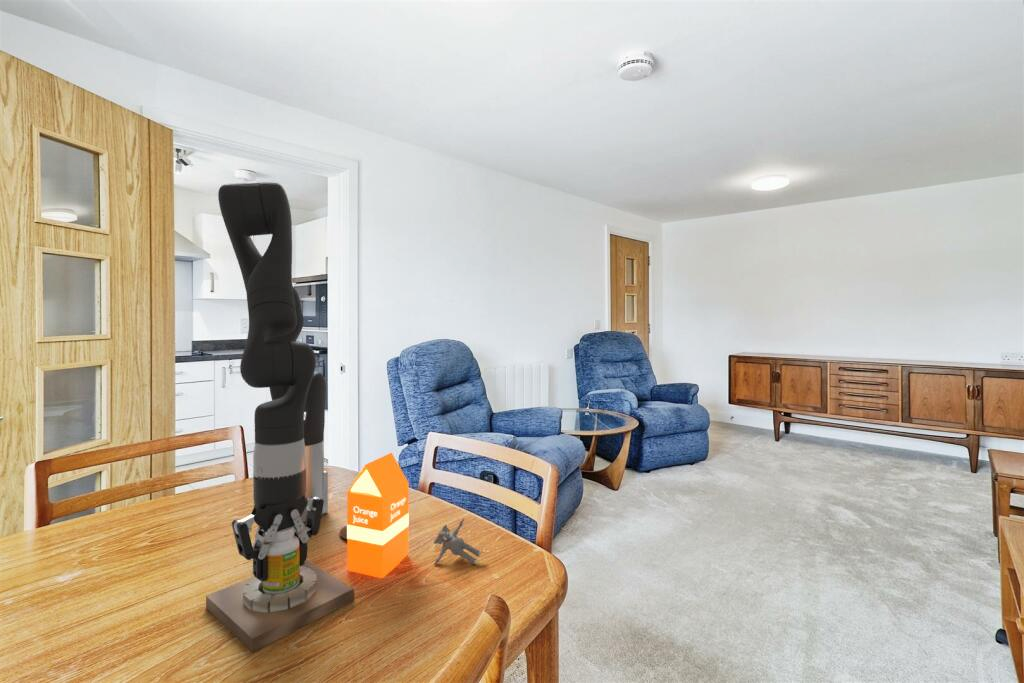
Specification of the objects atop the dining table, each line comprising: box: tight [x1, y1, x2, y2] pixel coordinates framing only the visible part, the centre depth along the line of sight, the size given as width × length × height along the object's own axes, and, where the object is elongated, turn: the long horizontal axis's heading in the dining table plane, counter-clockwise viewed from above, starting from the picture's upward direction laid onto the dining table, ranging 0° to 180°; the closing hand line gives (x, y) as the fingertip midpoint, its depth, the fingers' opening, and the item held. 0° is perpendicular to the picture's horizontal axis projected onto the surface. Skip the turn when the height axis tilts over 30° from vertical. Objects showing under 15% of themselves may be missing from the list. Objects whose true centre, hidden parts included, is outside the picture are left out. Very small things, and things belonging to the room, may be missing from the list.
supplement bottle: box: [263, 526, 300, 595], centre depth 78 cm, size 5×5×10 cm
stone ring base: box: [205, 558, 355, 653], centre depth 78 cm, size 16×16×4 cm
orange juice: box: [346, 452, 410, 579], centre depth 91 cm, size 8×9×20 cm
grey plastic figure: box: [433, 518, 482, 565], centre depth 94 cm, size 10×6×9 cm
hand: (281, 571), depth 78 cm, fingers closed on supplement bottle, 5 cm apart
